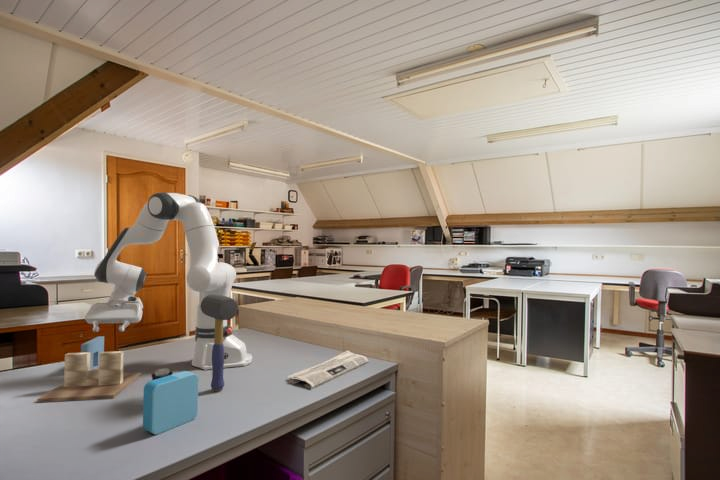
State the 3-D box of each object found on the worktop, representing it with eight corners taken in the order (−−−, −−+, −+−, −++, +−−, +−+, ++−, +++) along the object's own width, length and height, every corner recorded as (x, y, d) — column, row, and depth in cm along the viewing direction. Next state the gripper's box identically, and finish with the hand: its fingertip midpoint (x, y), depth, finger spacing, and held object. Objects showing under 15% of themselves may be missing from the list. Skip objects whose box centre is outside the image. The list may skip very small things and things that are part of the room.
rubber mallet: (238, 392, 116) (240, 295, 117) (216, 399, 111) (217, 298, 111) (218, 382, 124) (220, 292, 125) (196, 388, 119) (198, 294, 119)
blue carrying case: (188, 413, 101) (188, 369, 101) (198, 418, 98) (198, 372, 99) (142, 431, 91) (143, 382, 91) (152, 437, 88) (153, 386, 89)
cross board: (140, 375, 130) (141, 343, 130) (113, 398, 110) (114, 361, 111) (76, 378, 127) (77, 345, 127) (37, 402, 107) (38, 364, 107)
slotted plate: (97, 362, 144) (98, 336, 144) (103, 362, 144) (104, 336, 145) (80, 372, 132) (81, 344, 132) (86, 372, 132) (87, 344, 133)
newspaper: (311, 391, 119) (312, 379, 119) (284, 382, 126) (284, 372, 126) (370, 363, 148) (370, 354, 148) (345, 357, 155) (345, 349, 155)
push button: (176, 407, 105) (177, 371, 105) (155, 412, 101) (156, 375, 101) (168, 400, 110) (168, 366, 110) (148, 405, 106) (148, 370, 106)
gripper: (90, 298, 155) (76, 327, 146) (143, 298, 159) (133, 325, 149) (95, 307, 160) (82, 335, 150) (147, 306, 163) (137, 334, 153)
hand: (108, 330), depth 149 cm, fingers open, 8 cm apart
